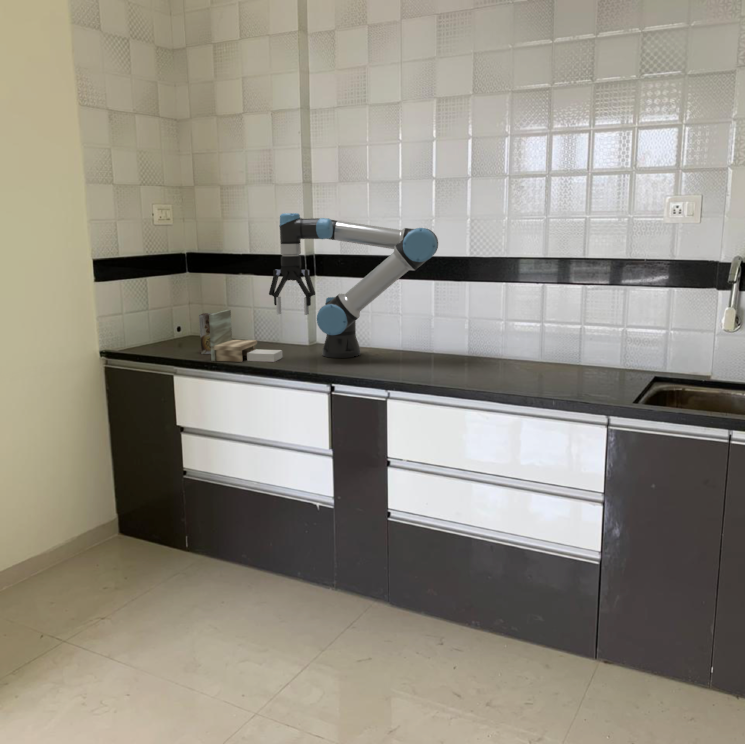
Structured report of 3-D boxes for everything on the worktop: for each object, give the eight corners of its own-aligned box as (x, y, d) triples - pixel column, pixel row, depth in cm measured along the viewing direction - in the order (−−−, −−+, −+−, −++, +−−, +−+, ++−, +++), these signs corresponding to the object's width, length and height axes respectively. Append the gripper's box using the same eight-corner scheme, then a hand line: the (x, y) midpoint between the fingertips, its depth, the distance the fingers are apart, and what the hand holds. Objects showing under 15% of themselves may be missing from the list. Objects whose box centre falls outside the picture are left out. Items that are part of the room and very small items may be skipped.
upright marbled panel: (257, 355, 296) (255, 310, 293) (241, 362, 281) (238, 315, 277) (229, 354, 299) (227, 309, 296) (211, 361, 284) (208, 314, 280)
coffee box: (227, 351, 306) (225, 312, 302) (222, 354, 299) (220, 314, 296) (205, 351, 306) (203, 312, 303) (200, 354, 300) (198, 314, 297)
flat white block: (282, 357, 290) (282, 350, 289) (274, 361, 281) (273, 354, 281) (256, 356, 293) (256, 349, 292) (247, 360, 284) (246, 353, 283)
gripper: (323, 254, 277) (324, 313, 281) (266, 254, 283) (268, 312, 287) (316, 255, 270) (318, 316, 274) (258, 255, 275) (260, 314, 280)
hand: (292, 314), depth 281 cm, fingers open, 10 cm apart
